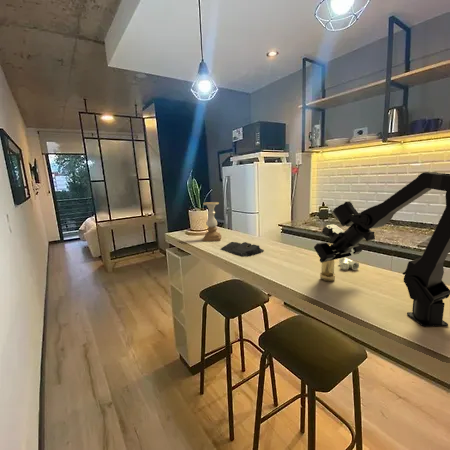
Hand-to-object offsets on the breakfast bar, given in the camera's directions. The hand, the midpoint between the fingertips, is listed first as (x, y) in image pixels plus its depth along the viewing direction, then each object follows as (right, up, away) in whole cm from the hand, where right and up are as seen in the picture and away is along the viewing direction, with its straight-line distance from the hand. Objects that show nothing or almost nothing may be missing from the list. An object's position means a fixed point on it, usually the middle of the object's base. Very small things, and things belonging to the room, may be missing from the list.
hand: (325, 260), depth 100 cm
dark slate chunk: (-29, -1, +44) cm, 52 cm away
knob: (+1, -7, 0) cm, 7 cm away
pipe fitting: (+13, -5, +13) cm, 19 cm away
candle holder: (-46, +4, +72) cm, 86 cm away
